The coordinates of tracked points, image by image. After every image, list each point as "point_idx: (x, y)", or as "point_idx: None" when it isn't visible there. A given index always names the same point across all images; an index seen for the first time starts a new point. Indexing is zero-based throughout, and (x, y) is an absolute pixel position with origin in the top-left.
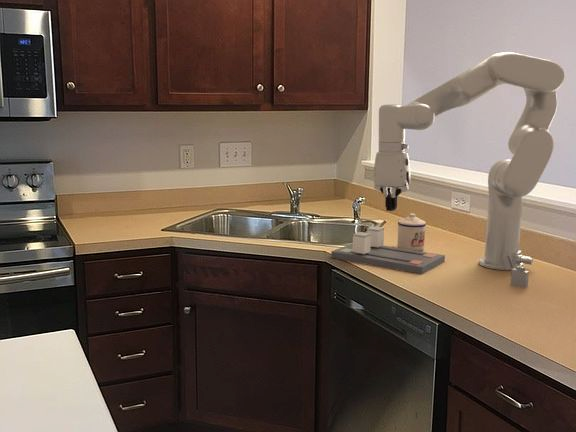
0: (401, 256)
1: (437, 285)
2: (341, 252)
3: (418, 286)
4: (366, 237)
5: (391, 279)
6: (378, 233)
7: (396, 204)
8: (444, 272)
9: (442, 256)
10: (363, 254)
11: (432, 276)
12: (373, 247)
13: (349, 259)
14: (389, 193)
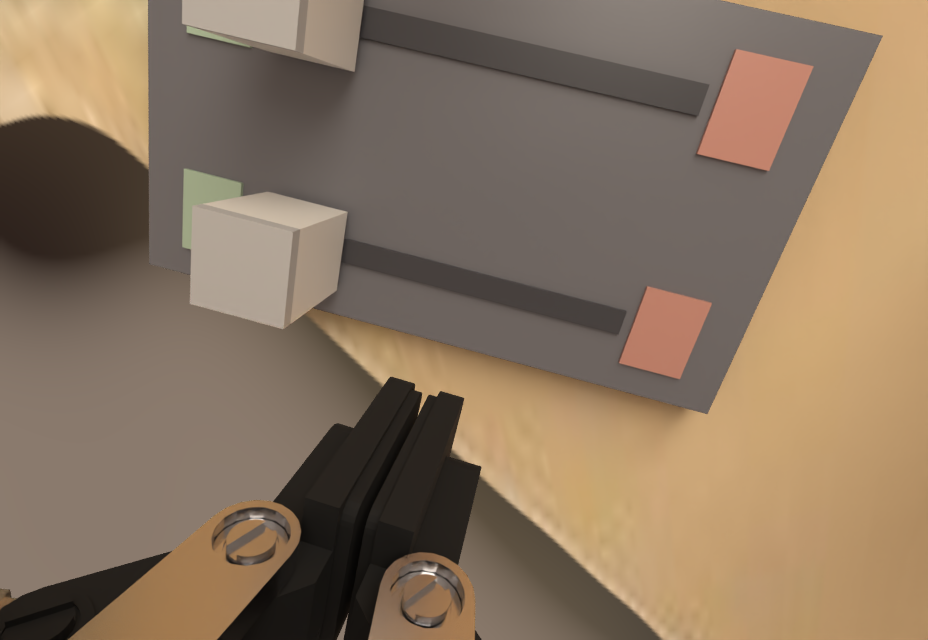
0: (554, 215)
1: (776, 542)
2: None
3: (687, 573)
4: (294, 297)
5: (557, 515)
6: (310, 50)
7: (472, 501)
8: (829, 319)
9: (856, 84)
10: None
11: (753, 416)
12: None
13: None
14: (269, 630)
